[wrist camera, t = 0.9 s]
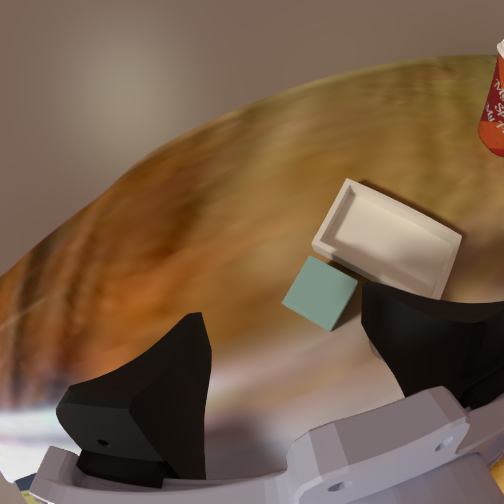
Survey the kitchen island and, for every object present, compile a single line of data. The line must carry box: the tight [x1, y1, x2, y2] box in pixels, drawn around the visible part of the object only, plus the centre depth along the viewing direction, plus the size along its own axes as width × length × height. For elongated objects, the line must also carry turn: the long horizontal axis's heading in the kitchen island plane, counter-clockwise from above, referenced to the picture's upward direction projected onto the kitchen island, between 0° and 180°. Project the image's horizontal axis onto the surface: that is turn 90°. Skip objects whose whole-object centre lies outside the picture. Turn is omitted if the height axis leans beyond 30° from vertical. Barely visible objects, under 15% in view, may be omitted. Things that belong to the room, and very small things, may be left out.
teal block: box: [282, 255, 358, 332], centre depth 21 cm, size 4×4×5 cm
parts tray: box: [312, 178, 462, 300], centre depth 22 cm, size 12×7×2 cm, turn 58°
